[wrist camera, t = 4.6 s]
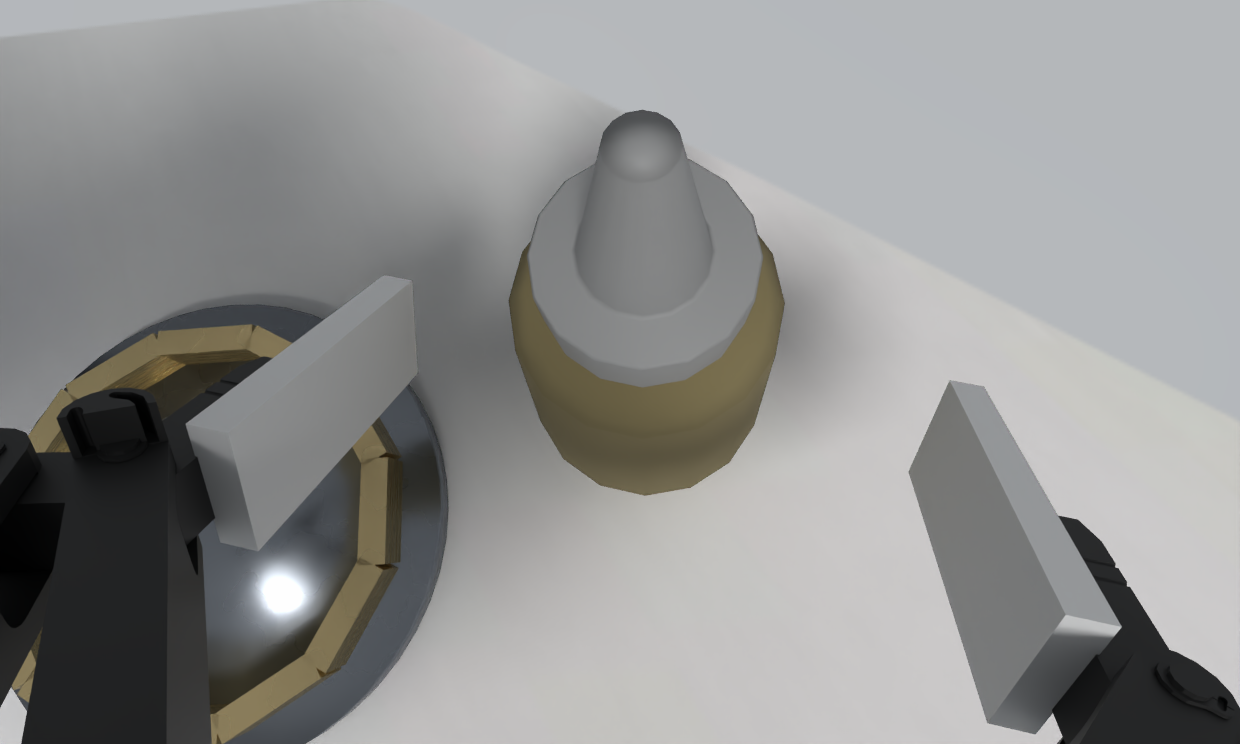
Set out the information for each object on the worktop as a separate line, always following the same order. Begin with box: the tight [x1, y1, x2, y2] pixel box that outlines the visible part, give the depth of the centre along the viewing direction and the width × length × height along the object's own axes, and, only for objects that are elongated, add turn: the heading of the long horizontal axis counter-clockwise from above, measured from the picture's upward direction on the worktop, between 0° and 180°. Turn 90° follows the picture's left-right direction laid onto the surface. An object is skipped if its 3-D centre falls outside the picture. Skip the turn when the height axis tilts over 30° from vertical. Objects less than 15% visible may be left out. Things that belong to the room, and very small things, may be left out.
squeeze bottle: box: [509, 110, 785, 495], centre depth 18 cm, size 8×8×18 cm
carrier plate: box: [11, 305, 448, 744], centre depth 25 cm, size 18×18×2 cm
